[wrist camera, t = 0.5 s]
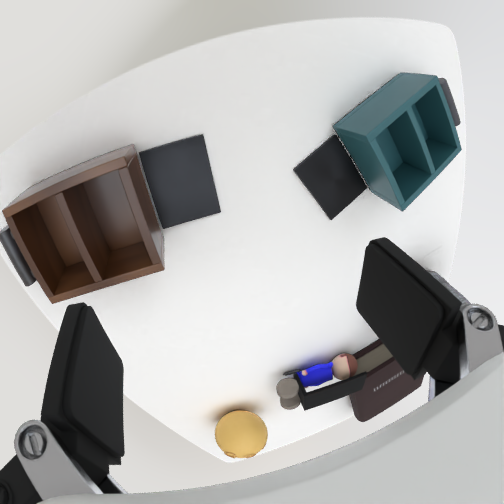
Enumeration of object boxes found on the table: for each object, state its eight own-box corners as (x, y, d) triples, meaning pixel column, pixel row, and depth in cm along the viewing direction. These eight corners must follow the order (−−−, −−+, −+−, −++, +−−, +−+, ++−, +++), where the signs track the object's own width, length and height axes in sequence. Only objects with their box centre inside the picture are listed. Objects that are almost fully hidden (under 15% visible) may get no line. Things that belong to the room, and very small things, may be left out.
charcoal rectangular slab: (163, 227, 28) (163, 229, 28) (139, 152, 24) (138, 153, 23) (220, 211, 29) (220, 212, 29) (202, 134, 24) (202, 134, 24)
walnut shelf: (45, 277, 26) (29, 311, 21) (6, 199, 21) (-21, 223, 16) (164, 238, 28) (164, 270, 23) (134, 143, 23) (124, 155, 18)
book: (338, 363, 50) (352, 386, 45) (418, 312, 51) (435, 331, 46) (350, 408, 66) (359, 424, 61) (409, 371, 66) (420, 386, 61)
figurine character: (275, 383, 50) (350, 362, 51) (283, 417, 44) (364, 393, 44) (270, 365, 47) (353, 341, 47) (279, 402, 40) (369, 375, 41)
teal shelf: (414, 61, 24) (450, 64, 20) (441, 126, 30) (473, 136, 25) (332, 126, 27) (365, 135, 22) (371, 192, 32) (402, 211, 27)
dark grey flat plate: (334, 134, 28) (335, 134, 27) (365, 186, 32) (367, 187, 32) (292, 169, 29) (293, 170, 28) (329, 219, 33) (331, 220, 33)
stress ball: (202, 411, 47) (212, 458, 39) (251, 395, 48) (267, 441, 40) (221, 428, 53) (232, 468, 44) (264, 414, 53) (279, 453, 45)
